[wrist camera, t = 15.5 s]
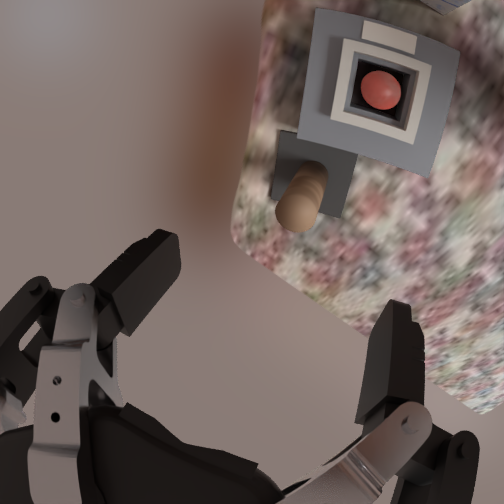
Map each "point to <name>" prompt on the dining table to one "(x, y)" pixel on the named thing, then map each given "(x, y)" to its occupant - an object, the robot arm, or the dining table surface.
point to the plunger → (380, 90)
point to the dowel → (302, 197)
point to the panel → (369, 120)
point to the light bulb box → (445, 5)
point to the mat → (332, 158)
